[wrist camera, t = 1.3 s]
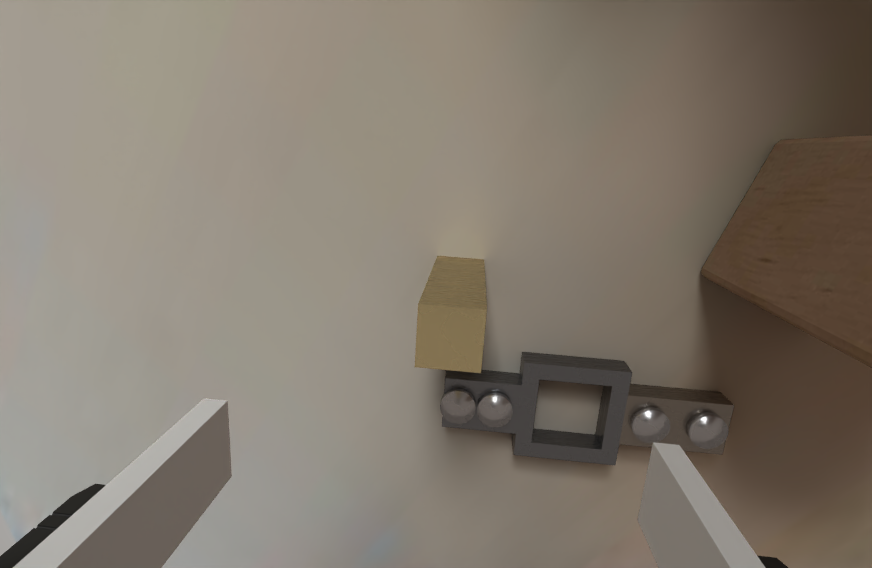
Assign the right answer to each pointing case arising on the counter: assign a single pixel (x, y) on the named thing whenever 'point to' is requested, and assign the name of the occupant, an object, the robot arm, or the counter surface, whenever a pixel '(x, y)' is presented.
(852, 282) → the wooden block
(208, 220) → the counter surface
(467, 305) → the pin
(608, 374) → the ball-studded metal bracket
